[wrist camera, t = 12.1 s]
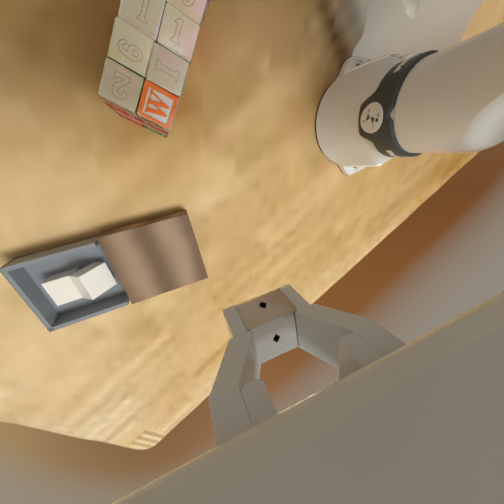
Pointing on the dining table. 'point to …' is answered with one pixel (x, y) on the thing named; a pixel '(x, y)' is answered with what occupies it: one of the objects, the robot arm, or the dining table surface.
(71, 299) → the tile
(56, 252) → the tray
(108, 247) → the board
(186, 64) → the stack of blocks
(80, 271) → the tile
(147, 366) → the dining table surface
